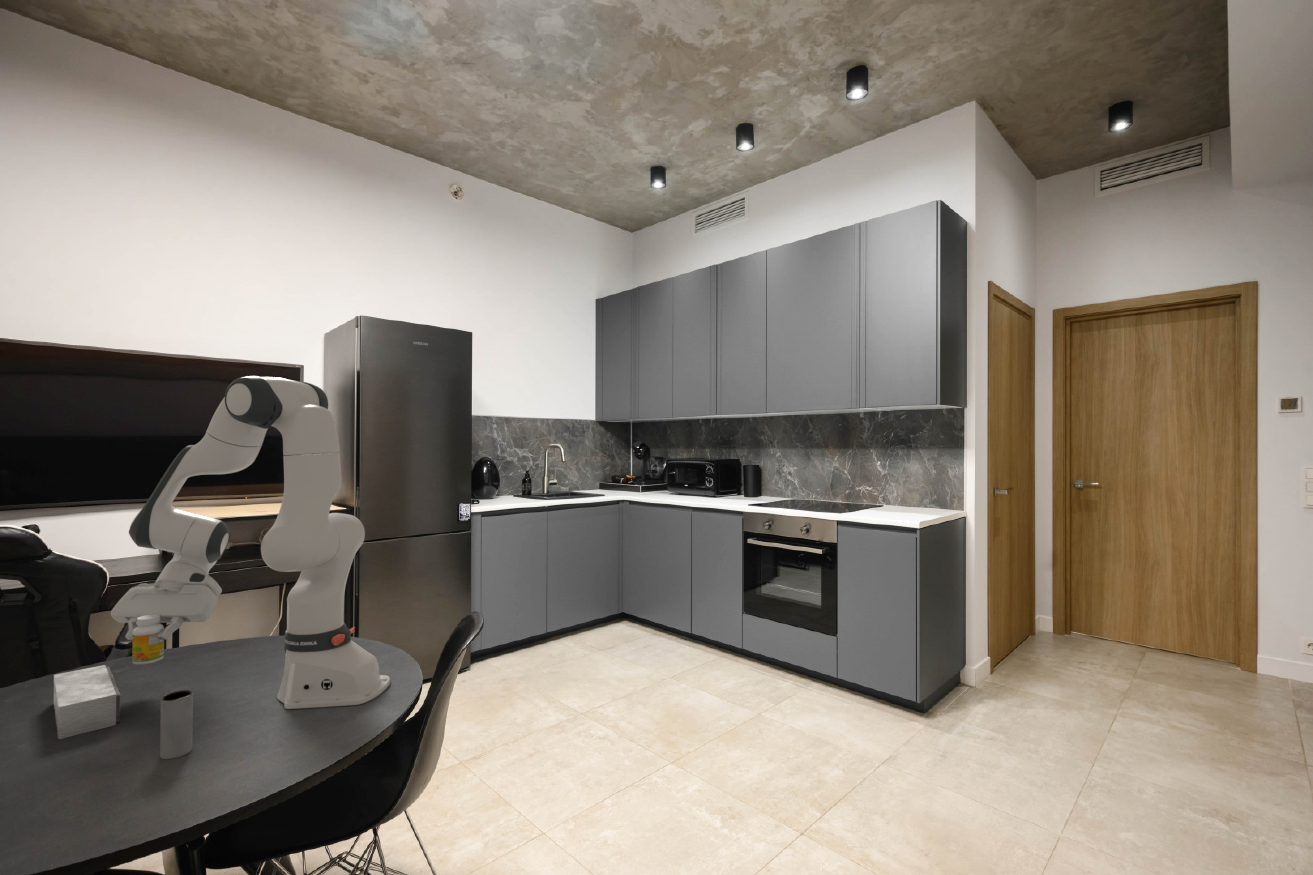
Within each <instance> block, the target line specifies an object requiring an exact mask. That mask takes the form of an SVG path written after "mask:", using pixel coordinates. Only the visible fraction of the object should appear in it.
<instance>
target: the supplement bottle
mask: <svg viewBox="0 0 1313 875" xmlns="http://www.w3.org/2000/svg"><path fill="white" fill-rule="evenodd" d="M137 625H138V626H137V628H135V629H134V630H133V634H132V640H131V641H132V642H131V643H132V648H131V649H132V650H131V653H132V655H131V658H132V664H133V665H148V664H153V663H156V662H159V661H161V660H163V659H164V657H165V656H164V655H165V640H160V639H159V638H158V637H157V635H158V634H159V632H160V630H161V629H165V626H164V625H163V624H162V623H161V622H160V615H145V616H141V617H138V618H137Z"/></svg>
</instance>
